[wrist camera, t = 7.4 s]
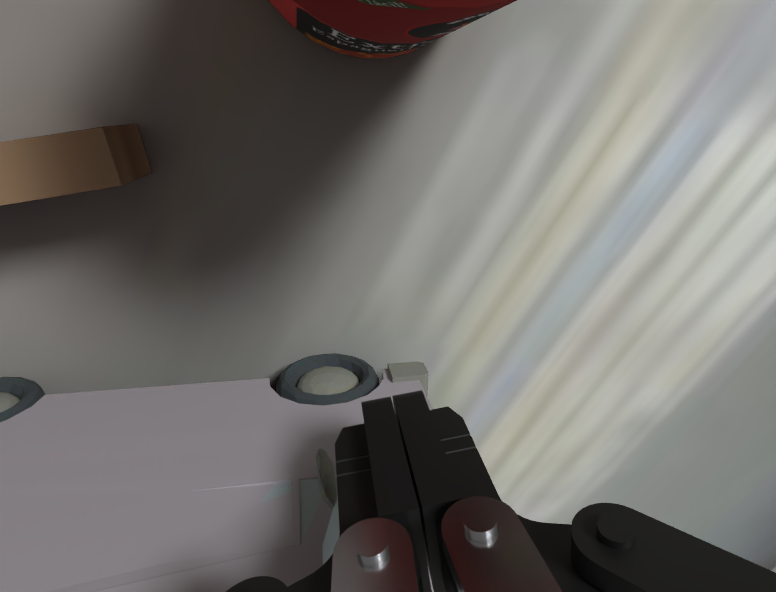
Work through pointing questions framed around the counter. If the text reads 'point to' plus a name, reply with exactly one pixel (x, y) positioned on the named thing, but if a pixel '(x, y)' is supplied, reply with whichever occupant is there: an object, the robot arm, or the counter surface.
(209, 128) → the counter surface
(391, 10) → the canned food
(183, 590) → the toy vehicle
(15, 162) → the wooden rails pair
